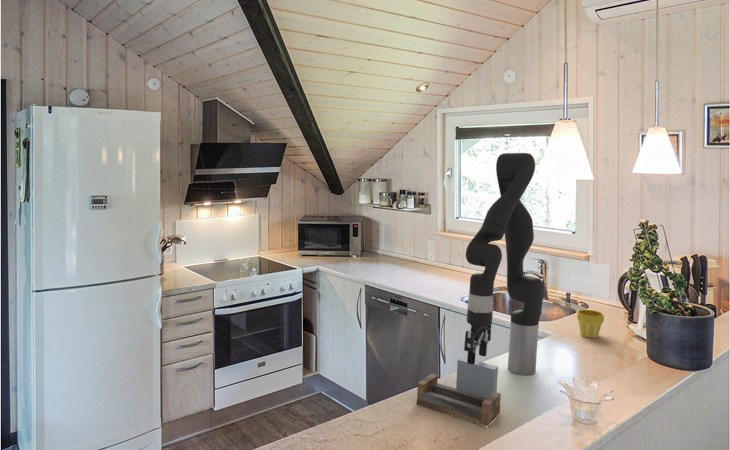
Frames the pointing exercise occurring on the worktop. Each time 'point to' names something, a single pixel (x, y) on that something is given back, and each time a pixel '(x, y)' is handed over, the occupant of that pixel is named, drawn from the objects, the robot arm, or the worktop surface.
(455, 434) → the worktop surface
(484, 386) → the light blue flat block
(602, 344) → the worktop surface
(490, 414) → the door track
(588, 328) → the plant pot
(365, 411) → the worktop surface
